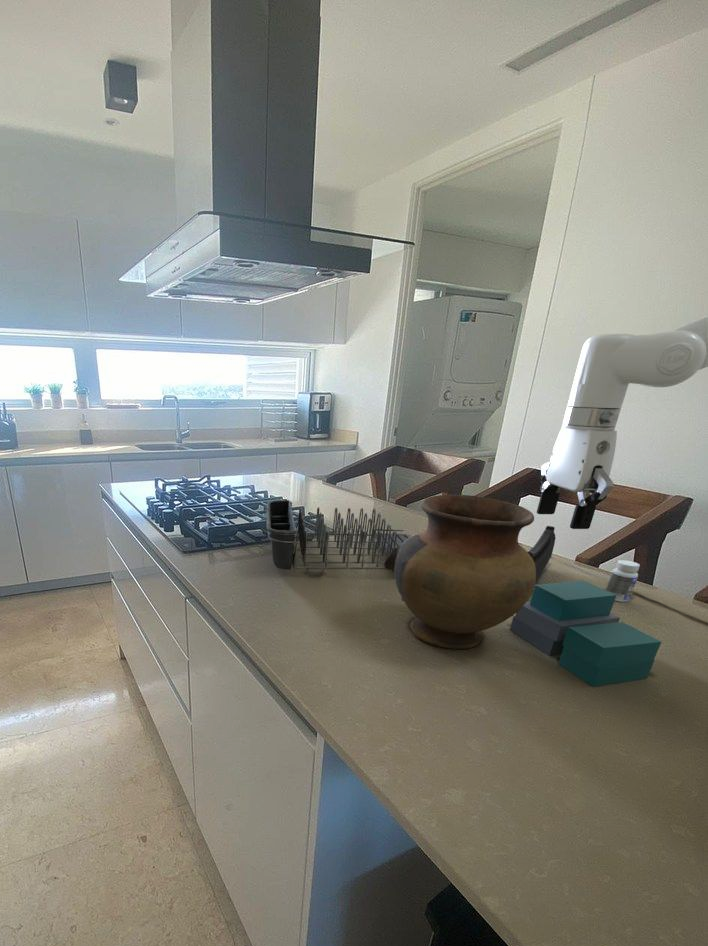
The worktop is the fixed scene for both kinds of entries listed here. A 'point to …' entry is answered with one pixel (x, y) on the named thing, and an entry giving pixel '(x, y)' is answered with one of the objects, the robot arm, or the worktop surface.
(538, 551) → the magazine
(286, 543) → the dish rack
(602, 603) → the teal block
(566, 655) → the teal stack
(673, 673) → the worktop surface
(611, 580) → the pill bottle
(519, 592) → the pot
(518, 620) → the grey stack
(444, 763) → the worktop surface
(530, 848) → the worktop surface
